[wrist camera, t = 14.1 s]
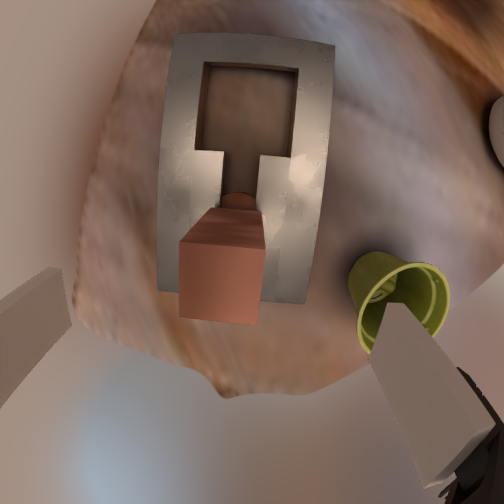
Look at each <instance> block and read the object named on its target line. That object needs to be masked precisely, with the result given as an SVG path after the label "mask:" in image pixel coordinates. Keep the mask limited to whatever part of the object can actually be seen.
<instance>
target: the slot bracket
mask: <svg viewBox="0 0 504 504" xmlns="http://www.w3.org/2000/svg"><path fill="white" fill-rule="evenodd" d="M334 60H335V46H334V45H329V44H324V43H319V42H314V41H308V40H301V39H294V38H287V37H279V36H269V35H258V34H242V33H183V34H175V36H174V42H173V47H172V53H171V59H170V65H169V72H168V79H167V86H166V94H165V102H164V111H163V121H162V131H161V143H160V156H159V172H158V194H157V286H158V290H160V291H168V292H176V293H179V241H180V240H181V239H182V238H183V237H184V236H185V235H186V234H187V232H188V231H189V230H190V229H191V228H192V227H193V226H194V225H195V224H196V223H197V221H198V220H199V219H200V218H201V217H202V216H203V215H204V214H205V213H206V212H207V211H208V210H209V209H210V207H216V208H221V199H222V186H223V173H224V161H225V152H220V151H202V139H203V128H204V118H205V108H206V99H207V91H208V82H209V74H210V66H236V67H252V68H264V69H274V70H283V71H290V72H295V74H294V86H293V97H292V108H291V119H290V130H289V140H288V150H287V158H286V157H278V156H268V155H260V163H259V173H258V183H257V194H256V204H255V211H261V212H262V219H263V228H264V237H265V246H266V253H265V262H264V271H263V279H262V288H261V297H260V301H265V302H278V303H291V304H305V301H306V296H307V290H308V285H309V279H310V273H311V268H312V262H313V255H314V249H315V243H316V236H317V230H318V223H319V216H320V209H321V201H322V194H323V186H324V178H325V169H326V160H327V151H328V141H329V131H330V120H331V107H332V94H333V79H334Z"/></svg>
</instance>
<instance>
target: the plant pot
mask: <svg viewBox="0 0 504 504" xmlns="http://www.w3.org/2000/svg"><path fill="white" fill-rule="evenodd" d="M391 276H392V277H391ZM348 289H349V292H350V295H351V298H352V300H353V303H354V306H355V309H356V311H357V324H356V329H357V336H358V339H359V341H360V344H361V345H362V347H363V348H364V350H365V351H366V352H367V353H369V354H370V353H371V351H372V348H373V345H374V342H375V340H376V337H377V334H378V331H379V328H380V325H381V322H382V319H383V316H384V312H385V309H386V306H387V303H404V304H405V305H406V306H407V308H408V309H409V310H410V311H411V312H412V313H413V315H414V316H415V317H416V318H417V319H418V321H419V322H420V323H421V324H422V325H423V327H424V328H425V329H426V330H427V331H428V333H429V334H430V335H431V336H432V337H434V336H435V335H436V334H437V332H438V331H439V329H440V328H441V326H442V324H443V322H444V321H445V318H446V315H447V313H448V309H449V304H450V290H449V285H448V282H447V280H446V278H445V276H444V275H443V273H442V272H441V271H440V270H439V269H437V268H436V267H434V266H433V265H431V264H428V263H424V262H411V263H408V262H406V261H404V260H401V259H399V258H397V257H394V256H392V255H390V254H387V253H385V252H381V251H374V252H370V253H367V254H365V255H363V256H362V257H360V258H359V259H358V260H357V261H356V262H355V264H354V266H353V268H352V269H351V271H350V273H349V275H348ZM380 293H382V294H381V296H379V297H377V298H374V299H372V298H371V297H372V296H375V295H378V294H380Z"/></svg>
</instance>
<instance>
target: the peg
mask: <svg viewBox="0 0 504 504" xmlns="http://www.w3.org/2000/svg"><path fill="white" fill-rule="evenodd" d="M255 204H256V198H255V197H253V196H252V195H249V194H247V193H242V192H233V193H229V194H226V195H224V196H222V199H221V208H216V207H210V209H209V210H208V211H207V212H206V213H205V214H204V215H203V216H202V217H201V218H200V219H199V220H198V221H197V223H196V224H195V225H194V226H193V227H192V228H191V229H190V230H189V231H188V232H187V234H186V235H185V236H184V237H183V238H182V239H181V240H180V241H179V317H184V318H192V319H200V320H209V321H219V322H228V323H239V324H250V325H257V322H258V313H259V305H260V297H261V288H262V279H263V271H264V262H265V253H266V246H265V237H264V228H263V219H262V212H261V211H255Z"/></svg>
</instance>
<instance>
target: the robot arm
mask: <svg viewBox="0 0 504 504" xmlns="http://www.w3.org/2000/svg"><path fill="white" fill-rule="evenodd" d="M71 326H72V324H71V319H70V315H69V310H68V305H67V300H66V294H65V289H64V283H63V277H62V270H61V269H58V268H52V267H48V268H46V269H45V270H43V271H42V272H40V273H39V274H37V275H36V276H34V277H33V278H31V279H30V280H28V281H27V282H25V283H24V284H22V285H21V286H19V287H18V288H17V289H15V290H14V291H12V292H11V293H10V294H8V295H7V296H5V297H4V298H3V299H1V300H0V408H1V407H2V405H3V404H4V403H5V402H6V401H7V399H8V398H9V397H10V396H11V394H12V393H13V392H14V391H15V389H16V388H17V387H18V386H19V385H20V383H21V382H22V381H23V380H24V379H25V377H26V376H27V375H28V374H29V373H30V371H31V370H32V369H33V368H34V367H35V366H36V364H37V363H38V362H39V361H40V360H41V359H42V358H43V356H44V355H45V354H46V353H47V352H48V351H49V350H50V348H52V346H53V345H54V344H55V343H56V342H57V341H58V340H59V339H60V338H61V336H62V335H63V334H64V333H65V332H66V331H67V330H68V329H69V328H70V327H71ZM369 361H370V363H371V365H372V368H373V370H374V372H375V374H376V376H377V378H378V380H379V383H380V384H381V387H382V389H383V391H384V394H385V396H386V398H387V400H388V402H389V405H390V407H391V409H392V412H393V414H394V416H395V418H396V421H397V423H398V426H399V428H400V430H401V433H402V435H403V438H404V440H405V442H406V445H407V447H408V450H409V452H410V455H411V457H412V460H413V462H414V465H415V467H416V470H417V473H418V475H419V478H420V481H421V483H422V486H423V488H427V487H430V486H433V485H436V484H439V483H442V482H444V481H445V480H446V479H447V478H448V477H449V476H450V475H451V474H452V473H453V472H455V474H456V476H457V478H456V479H455V480H454V481H453V482H452V483H451V484H450V485H448V486H447V487H446V488H445V489H444V490H443V491H441V493H440V494H439V496H438V497H442V496H443V495H444V494H445V493H447V492H448V491H449V493H448V495H447V496H446V497H445V499H446V501H445V504H504V423H503V422H502V421H501V419H500V418H499V416H498V415H497V413H496V412H495V410H494V409H493V407H492V406H491V405H490V403H489V402H488V400H487V399H486V398H485V396H484V395H483V396H482V392H481V391H480V389H479V388H478V387H476V384H475V383H474V382H473V380H472V379H471V377H470V376H469V375H468V374H466V373H465V372H464V371H462V370H461V369H460V368H459V367H455V366H454V364H453V363H452V362H451V360H450V359H449V358H448V356H447V355H446V354H445V352H444V351H443V350H442V349H441V347H440V346H439V345H438V344H437V342H436V341H435V340H434V339H433V337H432V336H431V335H430V334H429V333H428V331H427V330H426V329H425V328H424V327H423V325H422V324H421V323H420V322H419V321H418V319H417V318H416V317H415V316H414V315H413V313H412V312H411V311H410V310H409V309H408V308H407V306H406V305H405V304H404V303H387V306H386V309H385V312H384V316H383V319H382V322H381V325H380V328H379V331H378V334H377V337H376V340H375V342H374V345H373V348H372V351H371V353H370V356H369Z"/></svg>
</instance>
